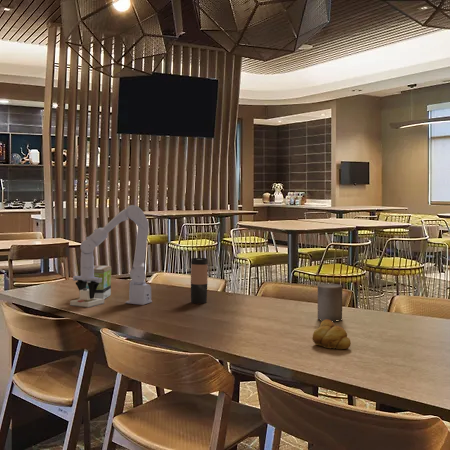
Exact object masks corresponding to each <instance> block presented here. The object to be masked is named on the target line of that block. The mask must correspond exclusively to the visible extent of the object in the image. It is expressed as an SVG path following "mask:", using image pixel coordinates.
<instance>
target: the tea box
mask: <svg viewBox="0 0 450 450" xmlns="http://www.w3.org/2000/svg"><path fill="white" fill-rule="evenodd" d="M94 277H98V278H102V282H101V283H99V285H98V287H97V289H96V292H95V298H99V299H104V300H105V299H107V298H108V297H110V296H111V295H112V290H111V289H112V286H111V285H112V266H111V265H94ZM88 283H90V282H87V284H86V288H87V289H89V287H88Z"/></svg>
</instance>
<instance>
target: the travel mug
mask: <svg viewBox="0 0 450 450" xmlns="http://www.w3.org/2000/svg"><path fill="white" fill-rule="evenodd" d="M208 261H209V260H208V258H207V257H191V258H190V302H191V304H198V303H200V304H206V303H207V299H208V271H209V270H208V268H209V266H208Z"/></svg>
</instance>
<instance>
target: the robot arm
mask: <svg viewBox="0 0 450 450" xmlns="http://www.w3.org/2000/svg"><path fill="white" fill-rule="evenodd" d="M129 219H130V220H131V221H133V222H134V224H135V225H136V226H137V232H136V233H137V234H136V241H135V248H134V249H135V251H134V255H133V257H134V259H133V262H132V263H133V264H132V268H131V270H130V272H129V278H130V281H129V283H128V284H129V290H128V291H129V299H128V300H126V301H124V303H125V304H131V305H132V304H133V305H142V306H143V305H146V304H150V303H153V300H152V286H151V285H150V284H149V283H146V281H145V280H146V274H145V273H146V272H145V260H146V252H147V243H148V237H149V236H148V235H149V227H150V223H149V221H148V219H147V217H146V215H145V213H144V211H143V210H142V209H141V208H140V207H139V206H138V205H135V204H131V205H127V207H126V208H124V209H123V210H121V211H120V212H118V213H117V214H116V215H115V216H114V217H113V218H112V219H111V220H110V221H109V222H107V224H105V225H104V226H103V227H98V228H94V229H93V232H92V233H91V234H90V235H89V236H86V237H85V239H84V240H83V241H81V243H80V247H79V249H80V251H81V252H80V275H73V276H72V281H73V282H75V281H76V282H75V286H76V287H77V290H78V291H79V290H83V289H84V288H86V284H87V282H90V283H88V287H89V296H90V299H92V298H94V295H95V292H96V289H97V287H98V285H99V283H101V282H102V278H98V277H94V266H95V256H94V250H95V248H97V247H98V246H100V245H101V244H102V243H103V242H104V241H105V240H106V239H108V238H109V237H108V236H109V234H108V233H110V232H111V231H112V230H114V228H116V227H117V226H118V225H119V224H121V223H122V222H125V221H126V222H127V221H128V220H129Z"/></svg>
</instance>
